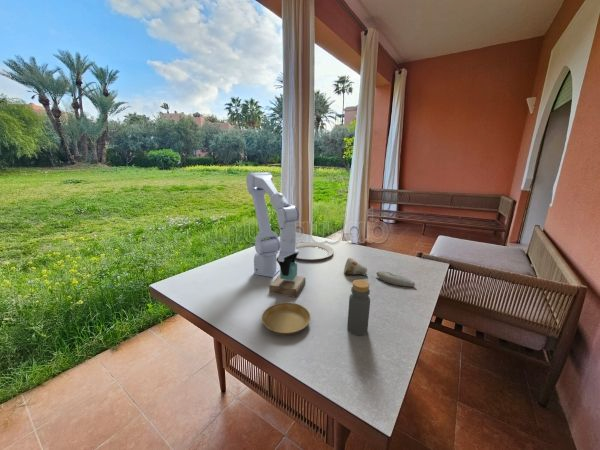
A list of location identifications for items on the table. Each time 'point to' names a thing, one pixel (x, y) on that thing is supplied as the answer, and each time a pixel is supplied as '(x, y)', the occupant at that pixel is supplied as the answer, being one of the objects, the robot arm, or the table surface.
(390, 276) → the decorative stone
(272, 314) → the plant saucer
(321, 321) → the table surface
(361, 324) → the bottle
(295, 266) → the teal cube
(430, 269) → the table surface
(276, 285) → the walnut plinth
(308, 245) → the plate
